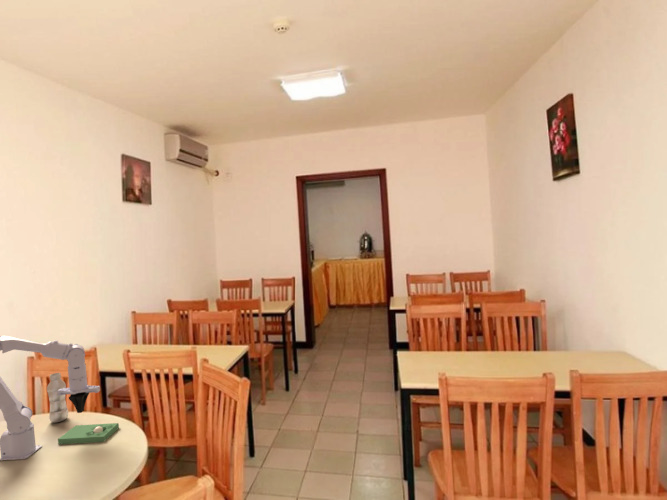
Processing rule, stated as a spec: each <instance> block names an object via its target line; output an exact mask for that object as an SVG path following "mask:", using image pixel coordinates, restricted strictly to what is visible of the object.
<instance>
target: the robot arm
mask: <svg viewBox="0 0 667 500" xmlns="http://www.w3.org/2000/svg"><path fill="white" fill-rule="evenodd" d="M14 350H15V351H21V352H22V351H23V352H24V351H25V352H31V353H40V354H41V355H42V356H43V358H48V359H49V358H50V359H56V360H62V361H64V360H66V361H67V363H68V364H67V375H68V383H69V384H68V386H69V387H66V388H63V389H60V390H58V391H57V392H58V396H60V395H65V396H66V395H70V396H68V400H69V401H70V402H71V404H72V405H73V406H74V408H75V410H76V412H77V413H76V414H82V413H83V412H84V411H85V407H86V402H87V399H88V396H89V395H90V393H94V394H97V393H99V392H100V391H101V387H100V385H88V378H87V366H86V357H85V356H86V353H85V348H84V346H83V345H80V344H78V343H75V344H73V343H63V342H59V340H57V339H54V340H53V341H51V340H50V341H48V342H45V343H43V342H38V341H32V340H28V339H22V338H17V337H13V336H9V335H0V352H1V351H2V354H6V353H7V352H11V351H14ZM0 411H1V412H2V415H3V419H4V421H5V422H6V429H7V430H5V431H4V432H3V433H2V434H1V436H0V461H8V460H9V461H12V460H14V461H15V460H26V459H28V458H29V457H30V456H32V455H33V454H35V452H37V451H39V450H40V449H41V448H42V447H43V445H42V444H39V445H37V444H36V435H35V426H34V425H35V424H34V423H33V422H32V421H31V419H32V416H33V410H32V408H30V407H29V406H26V405H24V403H23V402H22V401H20V400H18V399H17V398H16V396H15V394H14V393H13V392H12V390H10V388H9V387H8V386H7V384H6V383H5V381H4V380H3V379H2V377H1V376H0Z"/></svg>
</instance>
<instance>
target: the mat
mask: <svg viewBox="0 0 667 500" xmlns="http://www.w3.org/2000/svg"><path fill="white" fill-rule="evenodd" d="M98 426H101V427H102V428H103V432H101V433H95V434H94V433H93V431H94V429H95V428H96V427H98ZM119 428H120V426H119V422H117V423H116V422H114V423H97V424H96V423H95V424H80V425H79V424H78V425H74V426H73V427H71V428H70V429H69V430H68V431H66V432H65V433H64V434H63V435H61V436H60V437H59V438H57V444H58V445H69V444H70V445H71V444H72V445H73V444H86V443H87V444H88V443H89V444H90V443H105V442H106V441H107V440H108V438H110V437H111V436H112V435H113V434H114V433H115V432H116V431H117V430H118V429H119Z"/></svg>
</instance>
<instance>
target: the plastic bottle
mask: <svg viewBox="0 0 667 500" xmlns="http://www.w3.org/2000/svg"><path fill="white" fill-rule="evenodd" d="M63 388H67V384H66V382H65V381H64V380H63V379H62V375H61V372H55V373H51V374H49V383H48V384H47V386H46V391H47V397H48V401H49V413H48V419H49V421H50V422H51V423H55V424H56V423H60V422H63V421H65V420H67V418H68V416H69V410H68V407H67V402H66V394H65V395H60V396H58V392H57V391H58V390H60V389H63Z"/></svg>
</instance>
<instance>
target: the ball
mask: <svg viewBox="0 0 667 500" xmlns="http://www.w3.org/2000/svg"><path fill="white" fill-rule="evenodd" d="M101 432H103V428H102V427H101V426H98V427H96V428H95V429H94V431H93V433H94V434H95V433H101Z"/></svg>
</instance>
